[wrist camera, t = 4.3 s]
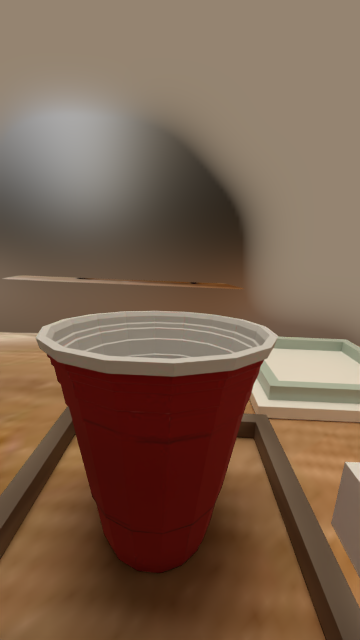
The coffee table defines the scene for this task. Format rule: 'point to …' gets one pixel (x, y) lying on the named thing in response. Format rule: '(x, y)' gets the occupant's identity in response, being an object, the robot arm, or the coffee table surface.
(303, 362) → the base plate
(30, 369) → the coffee table surface
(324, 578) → the holder frame
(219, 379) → the plastic cup
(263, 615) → the coffee table surface
